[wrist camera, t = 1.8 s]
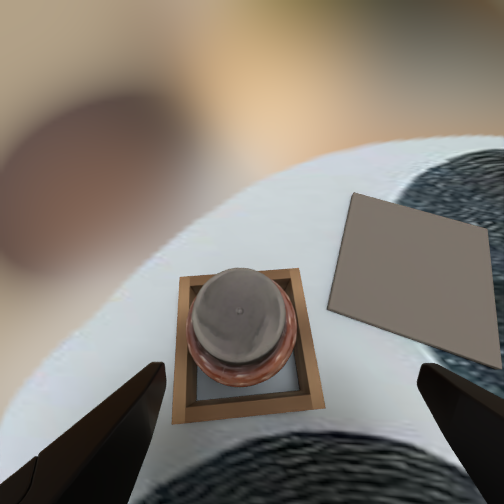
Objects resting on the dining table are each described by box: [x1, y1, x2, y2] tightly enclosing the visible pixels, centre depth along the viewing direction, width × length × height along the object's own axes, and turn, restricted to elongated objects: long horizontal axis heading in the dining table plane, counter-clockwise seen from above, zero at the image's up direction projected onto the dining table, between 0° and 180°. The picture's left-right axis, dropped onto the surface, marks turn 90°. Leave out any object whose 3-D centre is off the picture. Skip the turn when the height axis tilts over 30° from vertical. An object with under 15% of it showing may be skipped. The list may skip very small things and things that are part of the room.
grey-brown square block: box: [327, 193, 502, 369], centre depth 23 cm, size 14×14×1 cm
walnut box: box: [172, 268, 325, 425], centre depth 18 cm, size 10×10×4 cm
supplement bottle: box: [186, 268, 297, 387], centre depth 15 cm, size 6×6×11 cm
